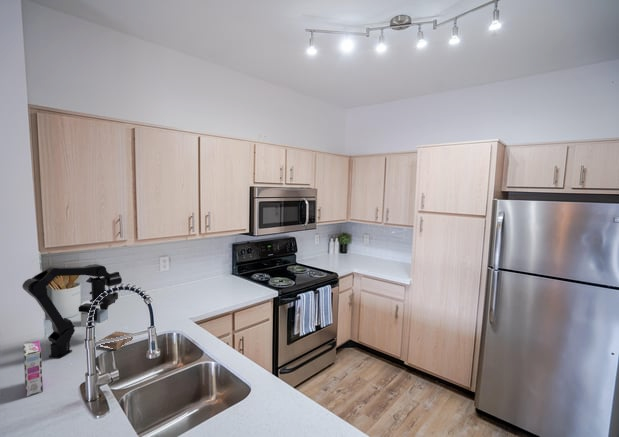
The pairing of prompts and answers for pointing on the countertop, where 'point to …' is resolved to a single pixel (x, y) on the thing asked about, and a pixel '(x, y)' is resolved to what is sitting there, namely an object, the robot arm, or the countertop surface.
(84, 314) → the supplement box
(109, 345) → the walnut block
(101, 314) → the slate cube
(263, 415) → the countertop surface
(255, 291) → the countertop surface
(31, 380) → the candy bar box
